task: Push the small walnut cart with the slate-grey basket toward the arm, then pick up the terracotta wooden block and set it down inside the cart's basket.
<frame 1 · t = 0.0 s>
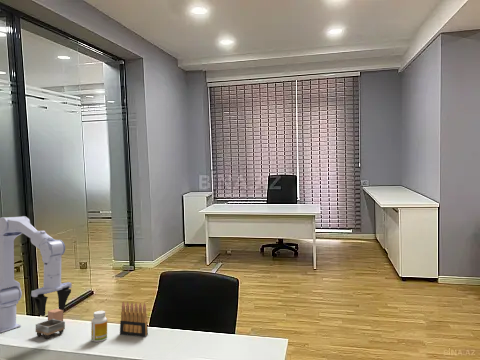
hand: (52, 312, 136), 10 cm above the table, tool pointing down, fingers open, 7 cm apart
supplement bottle: (99, 339, 137), on the table
cart: (50, 328, 142), point 2 cm above the table, slide at 0.0 cm
ammunition clip: (133, 335, 141), on the table
block: (55, 325, 152), on the table
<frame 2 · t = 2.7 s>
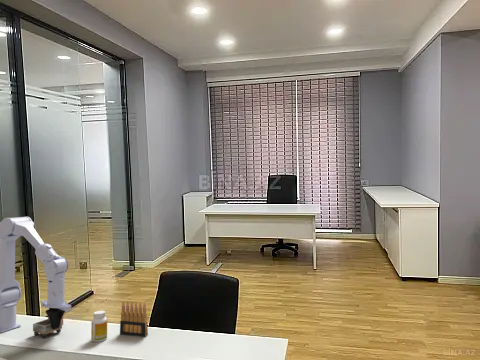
hand: (55, 328, 140), 3 cm above the table, tool pointing down, fingers closed
cart: (47, 328, 142), point 2 cm above the table, slide at 1.6 cm, touching gripper
everything else where it was.
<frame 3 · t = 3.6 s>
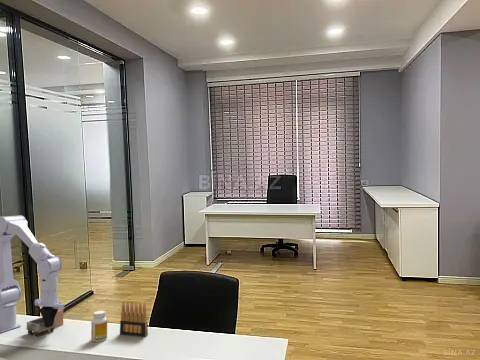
hand: (49, 326, 142), 3 cm above the table, tool pointing down, fingers closed
cart: (41, 326, 144), point 2 cm above the table, slide at 5.4 cm, touching gripper
everything else where it was.
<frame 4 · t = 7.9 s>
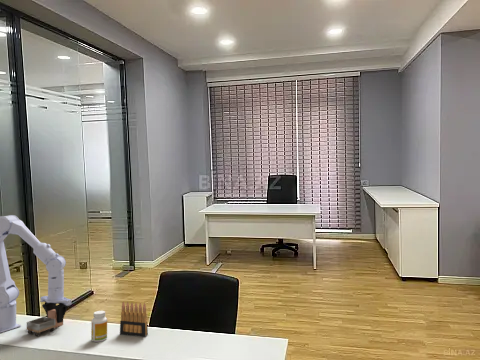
hand: (55, 321, 152), 2 cm above the table, tool pointing down, fingers closed on block, 4 cm apart
cart: (41, 326, 144), point 2 cm above the table, slide at 5.4 cm
block: (55, 325, 152), on the table, touching gripper
everything else where it was.
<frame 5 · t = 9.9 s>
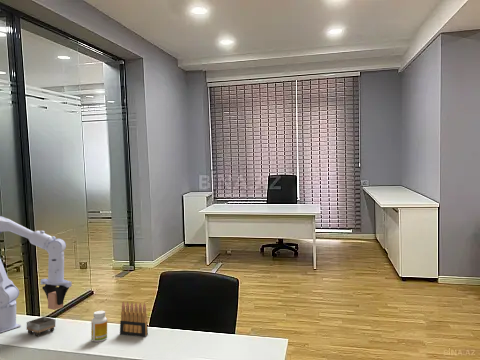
hand: (55, 303, 152), 9 cm above the table, tool pointing down, fingers closed on block, 4 cm apart
block: (55, 307, 152), point 7 cm above the table, touching gripper
everything else where it was.
when the fingers open (5 cm above the table, at t = 12.0 s): block stays where it is, resting on cart.
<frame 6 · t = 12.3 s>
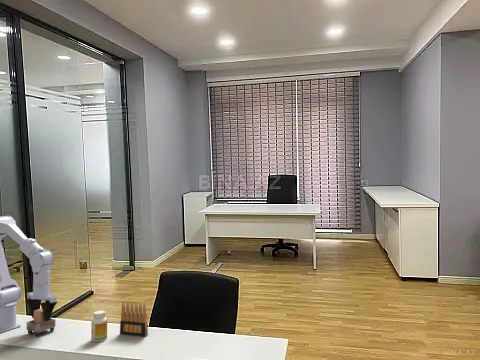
hand: (41, 319, 144), 5 cm above the table, tool pointing down, fingers open, 6 cm apart
cart: (41, 326, 144), point 2 cm above the table, slide at 5.4 cm, touching block
block: (41, 325, 144), point 2 cm above the table, touching cart
everything else where it was.
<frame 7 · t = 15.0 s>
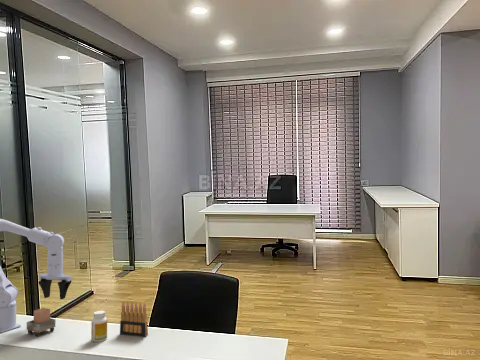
hand: (54, 298, 154), 10 cm above the table, tool pointing down, fingers open, 7 cm apart
nothing on the table moved.
at the end: cart slide at 5.4 cm; block 0.3 cm off-centre on the cart, point 2.4 cm above the cart's base; block tilted 0° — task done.
